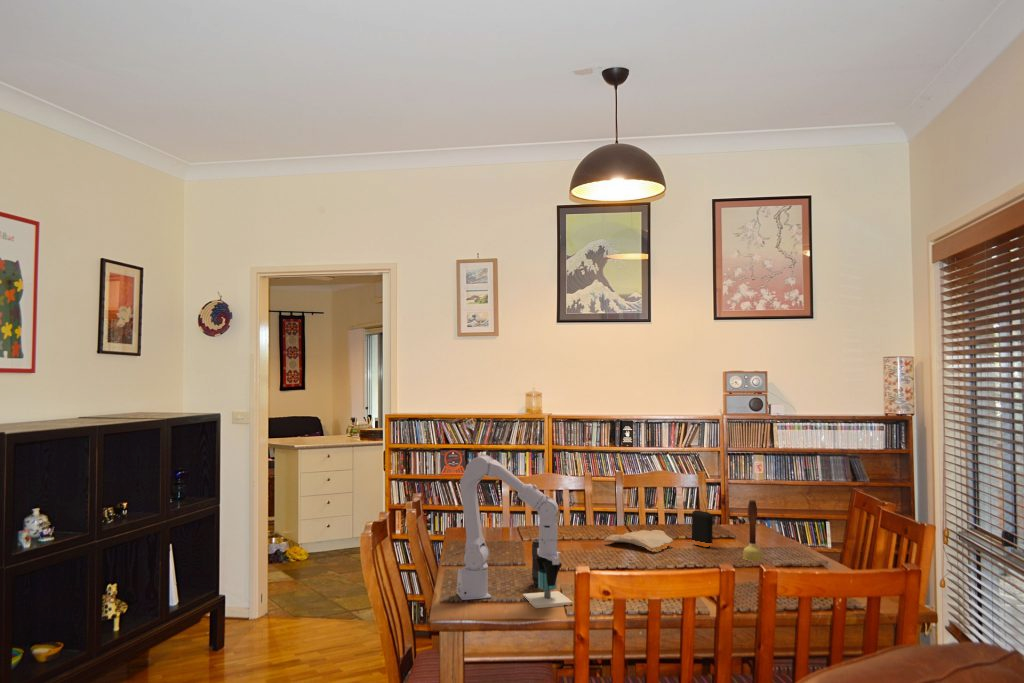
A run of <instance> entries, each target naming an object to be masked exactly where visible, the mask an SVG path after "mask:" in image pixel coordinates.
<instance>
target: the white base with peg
mask: <svg viewBox="0 0 1024 683" xmlns="http://www.w3.org/2000/svg"><path fill="white" fill-rule="evenodd" d="M523 596H524V597H525V598H526V599H527V600H528V601H529V602H528V601H527V600H526V599H525V598H524V597H523ZM522 597H523V598H524V599H525V600H526V601H527V602H528V603H529V604H530V605H532V607H534V608H535V609H541V608H554V607H565V606H564V605H565V604H568V603H573V602H574V601H572V600H571V599H569V597H567V596H566V595H564V594H563V593H562V592H560V590H554V591H553V590H543V592H542V591H541V592H529V593H522ZM573 604H574V603H573Z"/></svg>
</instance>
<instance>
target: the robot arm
mask: <svg viewBox="0 0 1024 683" xmlns="http://www.w3.org/2000/svg"><path fill="white" fill-rule="evenodd" d="M486 476H487V478H495V479H496V478H498V479H499V480H501V481H502V482H503V483H505V484H506V485H508V486H509V487H510V488H511V489H513V490H514V491H516V492H517V493H518V499H520V500H521V501H523V503H525V504H526V505H527V506H529V508H531V509H532V510H534V511H535V512H537V515H538V517H539V524H538V539H539V548H537V554H538V556H539V557H535V561H536V563H537V566H538V569H539V570H541V569H545V571H546V578H547V584H548V586H555V582H556V578H557V579H558V573H559V571H560V569H561V568H562V566H563V564H562V563H561V561H560V557H559V556H561V555H562V554H561V552H560V551H558V515H557V514H558V512H559V505H558V503H557V501H556V500H555V499H554V498H551V497H550V496H549V495H548V494H545V493H543V492H542V491H540V489H538V486H537V485H536V484H532V483H524V482H523V481H521V479H519V478H518V477H517V476H516V475H515V474H513V473H512V472H511V471H510V470H509V469H507V468H506V467H505V466H504V465H503V464H502V463H500V462H499V461H498V460H497V459H493V457H492V456H490V455H488V454H481V455H479V456H477V457H474V458H473V459H471V460H470V461H469V462H468V463H467V464H466V466H465V470H464V472H463V474H462V476H461V478H460V480H459V486H460V495H461V502H462V504H461V505H462V510H463V521H464V526H465V534H466V535H465V536H466V540H465V546H464V547H465V553H464V556H463V563H464V564H465V565H464V567H462V568H458V569H457V576H456V578H457V579H456V580H457V583H456V594H457V595H458V597H459V598H460V599H461V601H462V600H463V601H466V600H480V599H481V600H482V599H492V595H491V594H490V593H489V592H488V591H489V590H488V589H489V588H488V578H489V577H488V576H489V574H488V573H489V565H488V563H487V561H488V559H489V558H490V549H489V548H488V545H487V544H486V539H485V537H484V535H483V530H482V522H481V515H480V514H481V513H480V506H479V499H478V498H479V497H478V489H477V485H478V484H479V483H480V482H481V480H482V479H483V478H484V477H486Z"/></svg>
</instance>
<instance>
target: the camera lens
mask: <svg viewBox="0 0 1024 683" xmlns="http://www.w3.org/2000/svg"><path fill="white" fill-rule="evenodd" d="M537 548H539V538H535V539H532V544H531V557H532V558H531V559H532V561H531V562H532V563H531V565H532V567H531V577H532V578H531V579H532V582H533V583H532V584H533V586H534V585H536V586H537V587H536V588H538V571H539V569H538V566H537V563H536V561H535V557H539V556H538V554H537Z"/></svg>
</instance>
